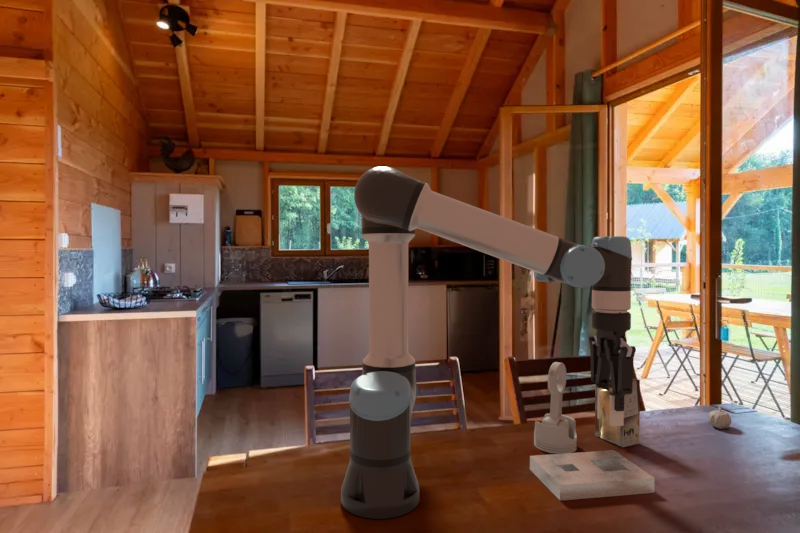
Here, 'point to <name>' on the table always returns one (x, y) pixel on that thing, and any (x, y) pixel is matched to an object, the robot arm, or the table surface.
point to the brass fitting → (606, 416)
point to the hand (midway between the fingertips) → (610, 421)
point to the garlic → (719, 419)
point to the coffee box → (626, 417)
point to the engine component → (556, 418)
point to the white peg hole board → (590, 475)
